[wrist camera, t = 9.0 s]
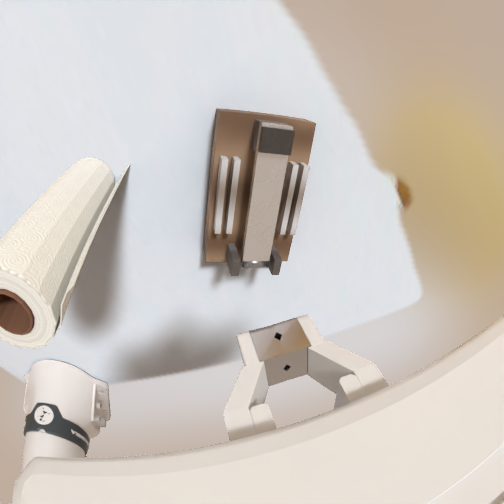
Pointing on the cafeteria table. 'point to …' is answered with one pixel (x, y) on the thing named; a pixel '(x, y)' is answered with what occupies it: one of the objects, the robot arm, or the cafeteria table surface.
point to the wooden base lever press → (239, 183)
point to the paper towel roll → (51, 252)
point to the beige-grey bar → (265, 193)
